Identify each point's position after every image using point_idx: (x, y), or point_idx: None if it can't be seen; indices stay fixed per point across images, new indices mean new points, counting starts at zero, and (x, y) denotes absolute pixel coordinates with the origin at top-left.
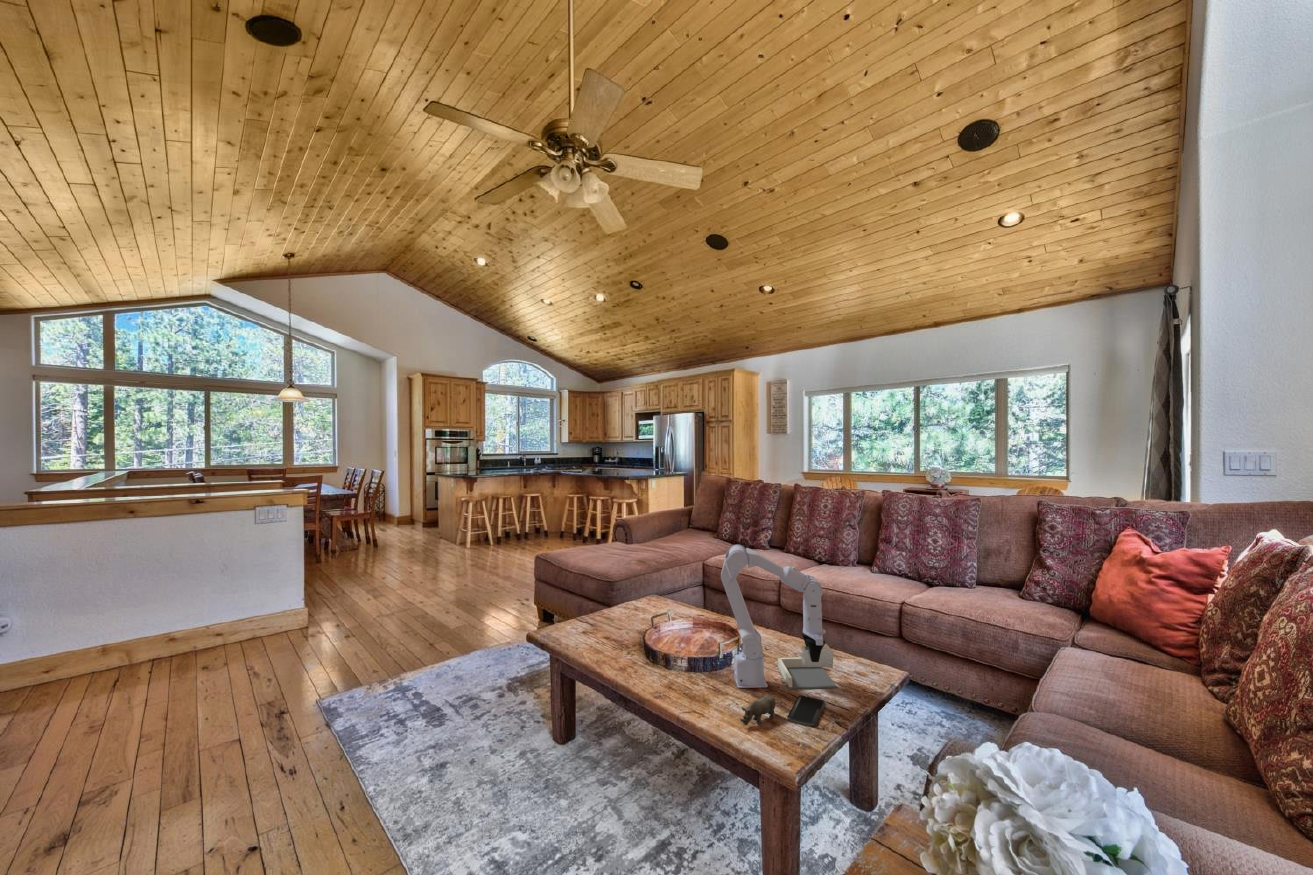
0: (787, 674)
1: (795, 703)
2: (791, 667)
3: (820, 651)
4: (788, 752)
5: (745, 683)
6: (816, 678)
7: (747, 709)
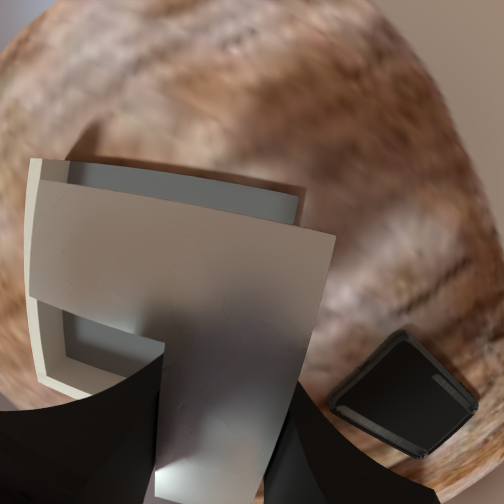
0: None
1: (369, 430)
2: (64, 316)
3: (341, 440)
4: (488, 456)
5: None
6: None
7: None
